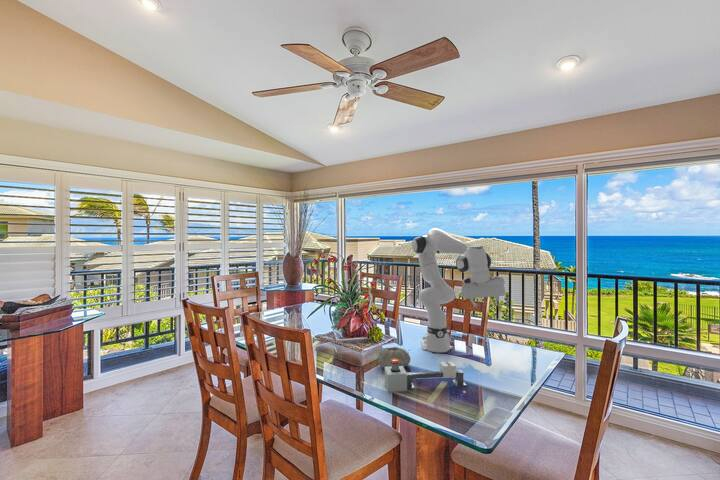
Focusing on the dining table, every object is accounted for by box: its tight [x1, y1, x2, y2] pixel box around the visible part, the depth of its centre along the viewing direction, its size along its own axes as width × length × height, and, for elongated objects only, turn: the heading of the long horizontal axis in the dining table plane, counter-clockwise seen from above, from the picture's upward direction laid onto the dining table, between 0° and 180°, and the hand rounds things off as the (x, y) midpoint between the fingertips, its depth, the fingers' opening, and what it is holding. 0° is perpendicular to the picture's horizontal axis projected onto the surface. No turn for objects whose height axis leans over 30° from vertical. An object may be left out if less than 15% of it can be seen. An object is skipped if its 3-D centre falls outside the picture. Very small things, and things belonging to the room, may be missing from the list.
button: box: [391, 358, 400, 372], centre depth 153 cm, size 4×4×7 cm
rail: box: [406, 369, 468, 390], centre depth 155 cm, size 6×30×6 cm, turn 94°
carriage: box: [439, 360, 457, 379], centre depth 155 cm, size 5×6×6 cm
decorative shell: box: [377, 346, 411, 369], centre depth 177 cm, size 18×18×10 cm
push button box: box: [384, 366, 408, 393], centre depth 153 cm, size 9×9×8 cm
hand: (485, 306), depth 158 cm, fingers open, 8 cm apart
